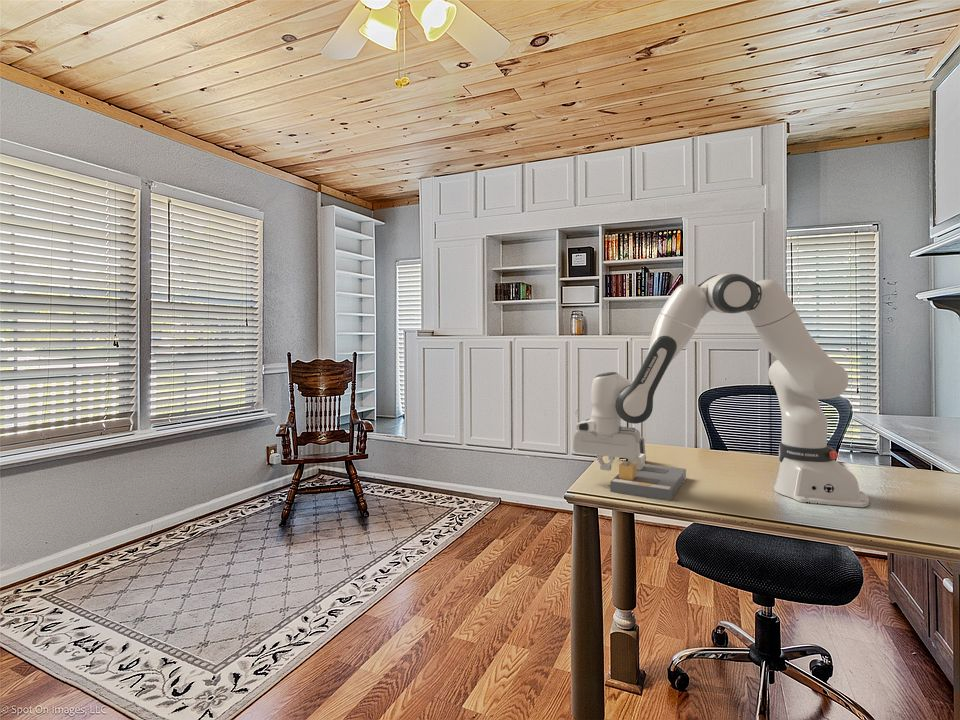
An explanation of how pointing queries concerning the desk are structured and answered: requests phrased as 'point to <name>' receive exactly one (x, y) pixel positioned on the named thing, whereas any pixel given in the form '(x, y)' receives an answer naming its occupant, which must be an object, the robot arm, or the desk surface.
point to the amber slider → (627, 470)
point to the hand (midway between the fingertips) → (605, 469)
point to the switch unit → (651, 482)
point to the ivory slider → (639, 461)
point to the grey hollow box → (642, 447)
